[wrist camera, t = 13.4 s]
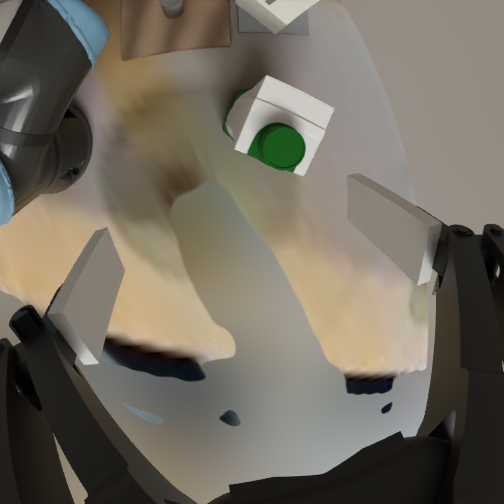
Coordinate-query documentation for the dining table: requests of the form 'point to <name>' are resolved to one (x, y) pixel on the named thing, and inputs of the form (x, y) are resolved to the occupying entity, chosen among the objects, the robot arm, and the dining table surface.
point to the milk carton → (277, 124)
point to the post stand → (172, 26)
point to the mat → (253, 25)
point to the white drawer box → (275, 11)
